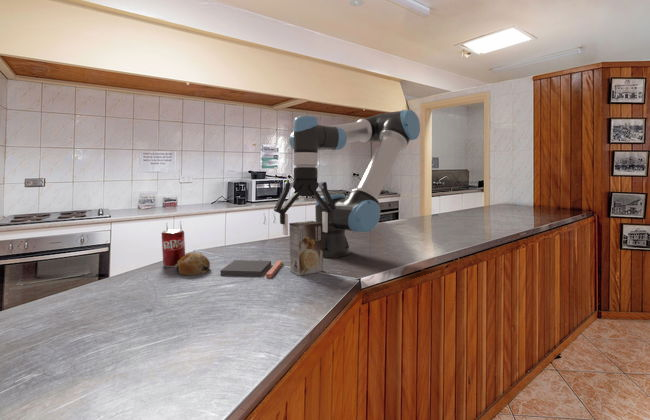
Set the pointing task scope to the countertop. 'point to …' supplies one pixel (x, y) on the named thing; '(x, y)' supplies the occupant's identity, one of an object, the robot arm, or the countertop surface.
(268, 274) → the pink bar
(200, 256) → the bread roll
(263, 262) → the mat
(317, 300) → the countertop surface
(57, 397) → the countertop surface
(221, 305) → the countertop surface
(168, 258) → the soda can
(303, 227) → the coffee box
